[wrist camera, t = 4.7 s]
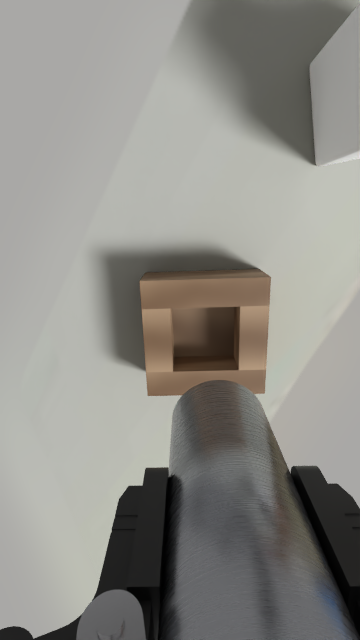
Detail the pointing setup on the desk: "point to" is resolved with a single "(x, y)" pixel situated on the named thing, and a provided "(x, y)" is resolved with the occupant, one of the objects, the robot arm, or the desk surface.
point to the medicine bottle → (337, 95)
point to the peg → (240, 531)
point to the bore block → (205, 328)
